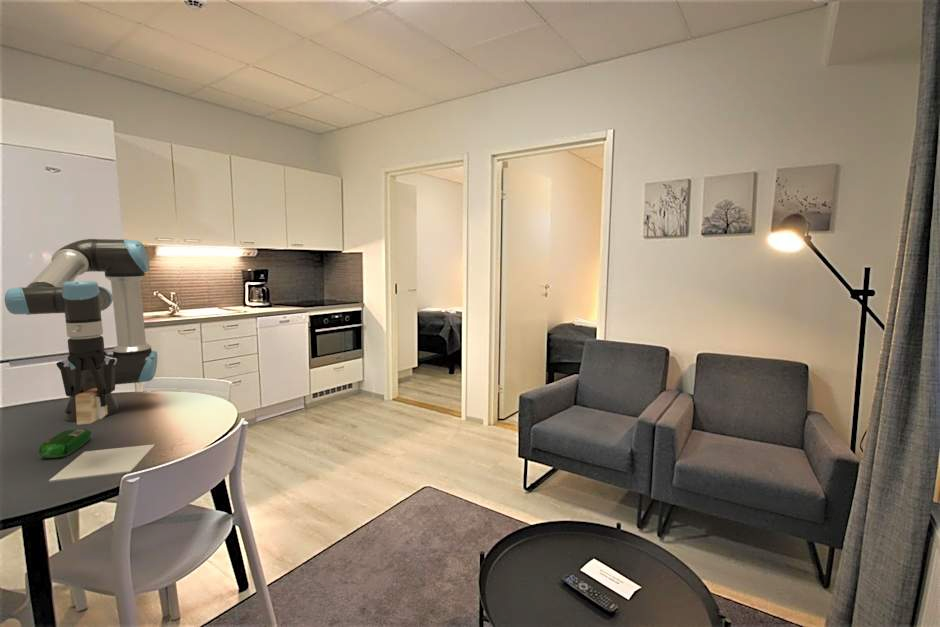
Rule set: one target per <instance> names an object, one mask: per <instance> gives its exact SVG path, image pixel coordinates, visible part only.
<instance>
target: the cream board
mask: <svg viewBox="0 0 940 627" xmlns="http://www.w3.org/2000/svg"><path fill="white" fill-rule="evenodd" d="M155 445H156V444H145V445H135V446H125V447H116V448H115V447H114V448H105V449H96V450H89V451H88V450H87V451H85V450H84V451H83V452H82V453H81V454H80V455H78V456H77V457H76V458H75V459H73V460H72V461H71V462H70V463H69V464H68V465H66V466H64V467H63V469H61V470H60V471H59V472H58V473H57V474H55V475H54V476H52V477H51V478H50V479H49V480H48V482H49V483H52V482H60V481H67V480H68V481H69V480H76V479H84V478H93V477H105V476H110V475H119V474H128V473H132V472H131V471H132V470H133V469H134V468H135V467H137V465H138V464H139V463H140V462H141V461H142V460H143V459H144V458H145V456H147V454H148V453H149V452H150V451H151V450H152V449H153V447H155Z"/></svg>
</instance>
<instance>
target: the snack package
mask: <svg viewBox="0 0 940 627" xmlns="http://www.w3.org/2000/svg"><path fill="white" fill-rule="evenodd" d="M91 435H92V431H91V430H89V429H86V428H81V429H80V428H79V429H66V430H64V431H62V432H60V433H58V434H56V435H55V436H52V437H51V438H50V439H47V440H46V441H44V442H43V443H42V444H41V445H40V447H39V455H40V456H41V457H43V458H46V459H50V458H51V459H53V458H64V457H67V456H70V455H71V454H72V453H73V452H75V451H77V450H78V449H80V448H81V447H83V446H84V445H85V444H87V442H89V440H90V438H91Z"/></svg>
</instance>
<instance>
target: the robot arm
mask: <svg viewBox="0 0 940 627" xmlns="http://www.w3.org/2000/svg"><path fill="white" fill-rule="evenodd" d="M144 245H145V244H143V242H141V241H139V240H134V239H126V238H125V239H115V238H114V239H109V238H108V239H106V238H103V239H101V238H100V239H99V238H97V239H96V238H85V239H81V240H76V241H73V242H72V243H69V244H67V245H64V246H63V247H60V248H59V249H58V250H56V251H55V252H54V253H53V254H52V256H51V260H50V261H51V262H50V263H49V264H48V265H47V266H46V267H45V268H44V269H43V270H42V271H41V272H40V273H39V274H38V275H37V276H36V277H35V278H34V279H33V280H32V281H31V282H30V283H29V284H28V285H27V286H26V287H22V286H19V287H11V288H9V289H7V290H6V292H5V294H4V304H5V307H6V309H7V311H8V313H10V314H12V315H26V316H29V315H43V314H46V315H47V314H64V318H65V327H66V328H65V329H66V336H67V337H68V339H67V348H68V353H69V354H68V356H67V358H66V359H64V360H61V361H58V362H56V364H55V365H56V367H57V368H58V369H59V370H60V374H61V379H62V384H63V387H64V388H63V389H64V393H65V396H66V397H68V401H67V403H66V406H65V409H64V420H65V421H68V422H77V417H76V401H75V395H78V394H80V393H83V392H85V391H88V390H90V389H93V388H97V391H98V394H99V395H97V396H96V406H97V416H98V420H102V419H103V418H105V417H109V416H111V415H115V413H117V412H118V411H119V405H118V404H119V403H118V402H117V400H116V399H115V396H114V395H113V393H112V392H114V391H115V390H116V385H123V384H124V385H126V384H136V383H137V384H140V383H145V382H150V381H152V380H153V379H154V378H155V376H156V372H157V366H158V353H157V351H156V350H152V346H151V345H150V344H149V343H147V341H146V330H145V318H144V307H143V306H144V305H143V299H142V298H143V297H142V296H143V295H142V287H141V281H142V280H143V278H145V277H146V274H145V273H146V272H149V271H150V261H149V256H148V253H147V250H146V247H145V246H144ZM87 272H93V273H94V272H97V273H99V272H101V273H103V272H104V276H105V278H106V279H107V280H109V281H110V284H111V285H110V286H111V291H110V290H109V289H108V288H106V287H104V286H100V285H99V283H98V282H97V281H93V280H86V281H85V280H78V281H77V280H76V278H77V277H78V276H81V275H83V274H85V273H87ZM112 303H113V305H112ZM111 305H112V306H113V315H114V323H115V324H114V325H115V333H116V343H117V345H116V346H115V347H114V348H113V349H112V353H109V352H107V350H105V342H104V341H105V340H104V337H103V336H102V335H103V334H104V331H103V328H104V327H103V322H102V321H103V320H102V311H105V310H106V309H108V308H109V307H110V306H111ZM108 353H109V354H108ZM106 405H107V415H105V407H104V406H106Z"/></svg>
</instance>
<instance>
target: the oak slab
mask: <svg viewBox="0 0 940 627" xmlns="http://www.w3.org/2000/svg"><path fill="white" fill-rule="evenodd" d="M97 395H99V394H98V391H97V388H93V389H90V390H88V391H85V392H83V393H80V394H78V395H75V401H76V417H77V421H76V425H88V424H92V423H94V422H96V421H98V420H99V419H98V416H97V406H96V396H97ZM104 407H105V415H107V405H106V406H104Z"/></svg>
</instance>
